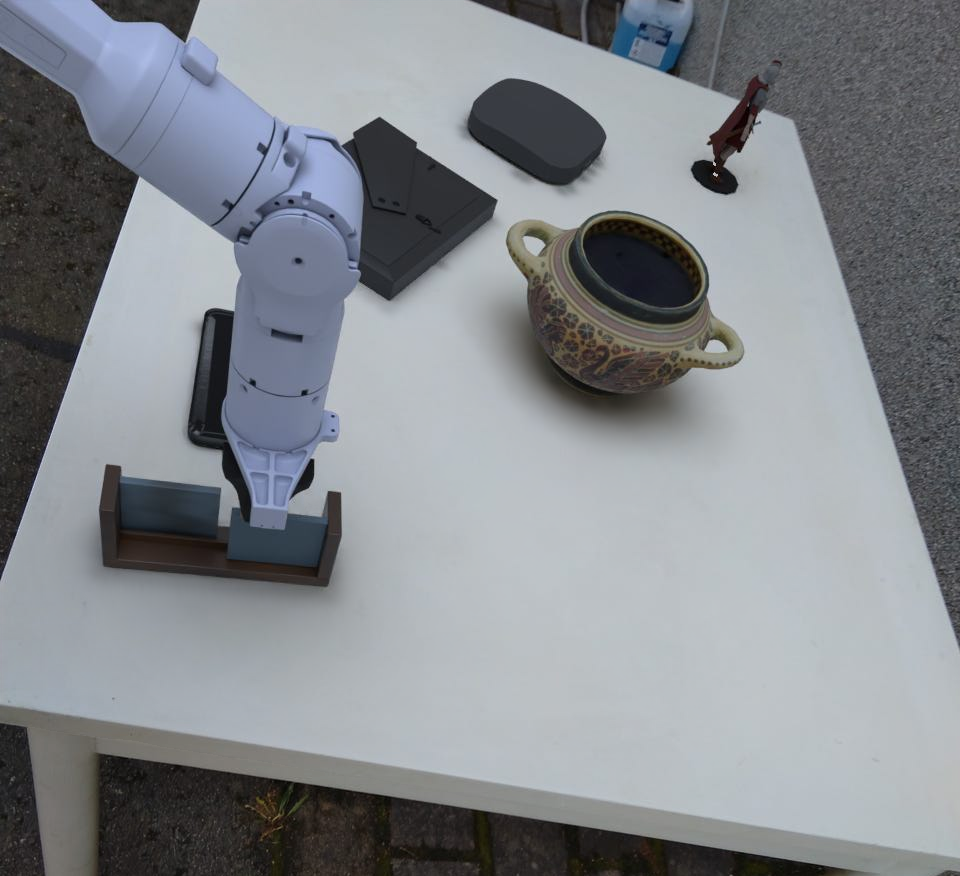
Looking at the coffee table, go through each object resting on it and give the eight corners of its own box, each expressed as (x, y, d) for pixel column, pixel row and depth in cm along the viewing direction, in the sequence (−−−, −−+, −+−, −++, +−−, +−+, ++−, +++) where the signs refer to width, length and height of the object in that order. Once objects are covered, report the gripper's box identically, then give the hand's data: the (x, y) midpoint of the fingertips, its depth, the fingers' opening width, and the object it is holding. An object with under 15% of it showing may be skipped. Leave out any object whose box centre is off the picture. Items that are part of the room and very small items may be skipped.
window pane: (317, 558, 71) (334, 486, 64) (316, 571, 70) (334, 500, 63) (227, 549, 69) (235, 474, 62) (226, 562, 68) (234, 489, 61)
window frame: (327, 544, 73) (341, 491, 68) (328, 586, 71) (342, 535, 66) (109, 522, 68) (105, 463, 63) (103, 566, 66) (98, 509, 61)
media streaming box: (454, 129, 109) (461, 104, 106) (511, 89, 117) (518, 65, 115) (560, 194, 108) (569, 171, 105) (609, 149, 116) (618, 126, 114)
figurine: (738, 201, 119) (805, 84, 107) (686, 182, 118) (748, 62, 106) (736, 172, 123) (800, 56, 111) (685, 153, 122) (745, 34, 109)
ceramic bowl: (448, 351, 93) (471, 242, 79) (539, 242, 99) (575, 123, 85) (655, 486, 91) (716, 400, 77) (734, 366, 98) (803, 267, 84)
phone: (186, 433, 73) (205, 305, 81) (186, 443, 74) (205, 315, 82) (288, 449, 75) (297, 323, 83) (286, 459, 76) (296, 332, 84)
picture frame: (374, 141, 103) (256, 213, 91) (379, 116, 100) (259, 187, 88) (492, 217, 102) (389, 300, 90) (500, 193, 100) (395, 276, 87)
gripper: (354, 466, 51) (317, 602, 62) (349, 288, 58) (318, 438, 69) (219, 449, 49) (207, 592, 60) (233, 267, 56) (219, 424, 67)
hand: (259, 508), depth 64 cm, fingers closed on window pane
